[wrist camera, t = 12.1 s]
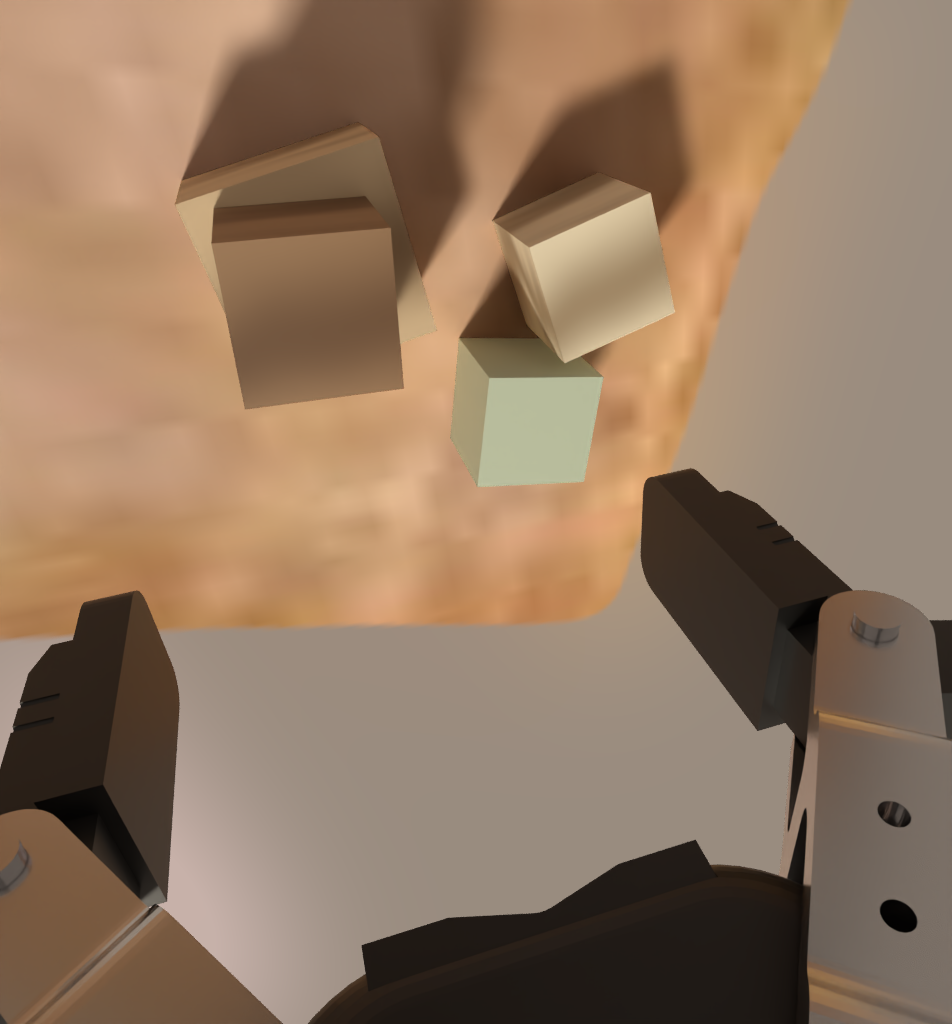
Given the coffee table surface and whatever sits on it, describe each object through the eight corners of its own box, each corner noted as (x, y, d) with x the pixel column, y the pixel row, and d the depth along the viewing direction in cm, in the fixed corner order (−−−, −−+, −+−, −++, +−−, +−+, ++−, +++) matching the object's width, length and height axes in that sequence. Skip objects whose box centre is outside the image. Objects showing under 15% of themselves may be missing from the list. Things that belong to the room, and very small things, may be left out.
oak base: (181, 179, 29) (175, 204, 25) (357, 121, 30) (378, 136, 26) (257, 348, 33) (262, 393, 29) (411, 294, 34) (437, 330, 30)
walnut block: (213, 207, 25) (211, 243, 21) (365, 195, 27) (390, 227, 22) (242, 353, 28) (244, 409, 24) (378, 337, 29) (403, 388, 25)
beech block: (491, 219, 33) (529, 247, 29) (598, 171, 33) (650, 192, 29) (526, 324, 36) (564, 363, 32) (624, 280, 36) (674, 312, 32)
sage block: (458, 337, 35) (489, 378, 31) (560, 337, 37) (603, 376, 33) (449, 437, 38) (477, 487, 34) (546, 434, 39) (583, 481, 35)
